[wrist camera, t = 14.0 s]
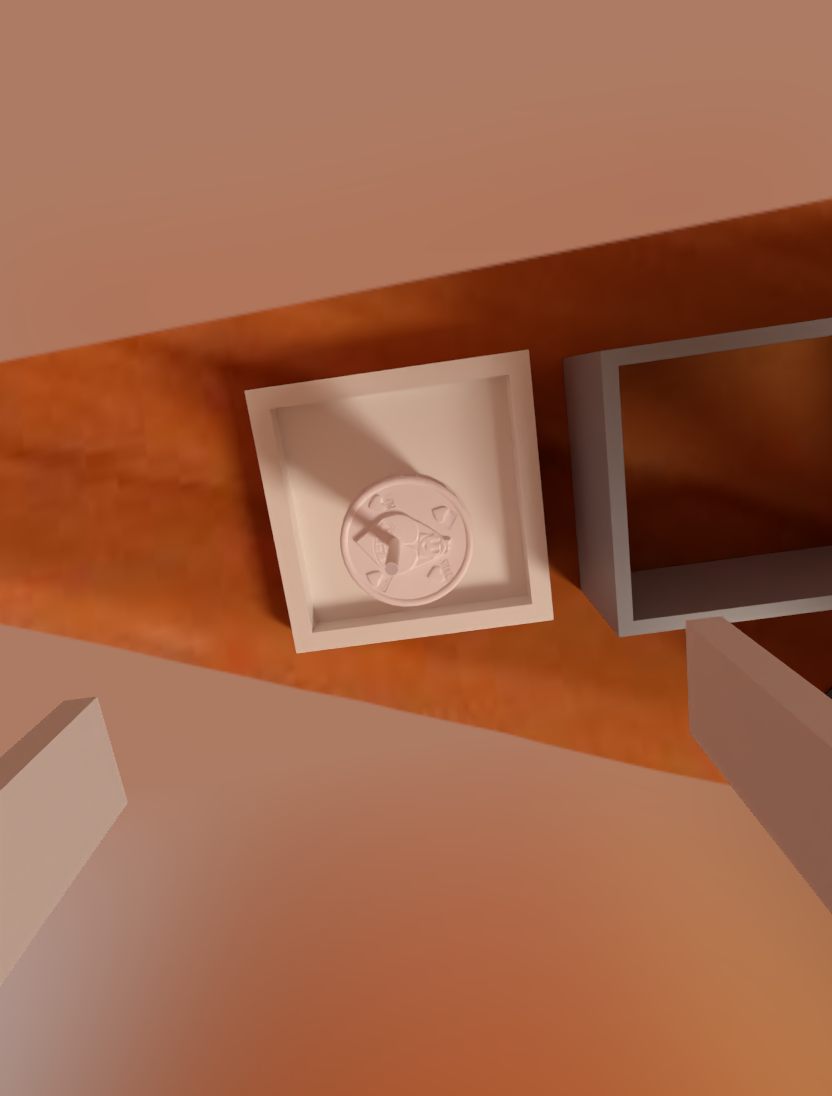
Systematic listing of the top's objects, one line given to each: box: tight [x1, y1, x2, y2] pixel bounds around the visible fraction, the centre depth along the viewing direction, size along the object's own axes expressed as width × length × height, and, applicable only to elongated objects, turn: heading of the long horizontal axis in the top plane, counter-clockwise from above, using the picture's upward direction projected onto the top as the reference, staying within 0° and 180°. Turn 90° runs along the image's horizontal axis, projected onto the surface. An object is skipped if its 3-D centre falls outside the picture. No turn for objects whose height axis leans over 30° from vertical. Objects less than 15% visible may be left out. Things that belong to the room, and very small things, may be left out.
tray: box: [244, 349, 554, 653], centre depth 39 cm, size 16×16×3 cm
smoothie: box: [340, 472, 474, 606], centre depth 32 cm, size 6×6×14 cm
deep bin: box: [563, 318, 832, 637], centre depth 35 cm, size 22×15×8 cm
